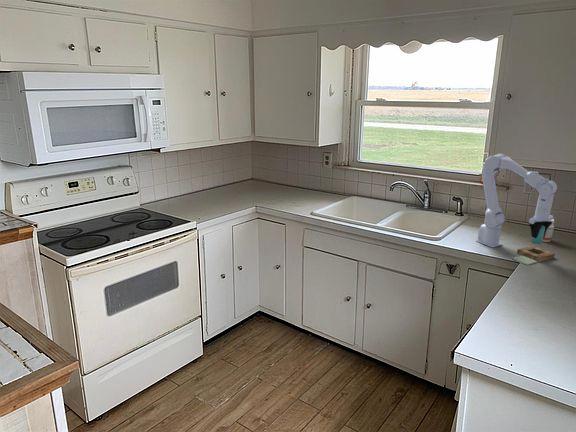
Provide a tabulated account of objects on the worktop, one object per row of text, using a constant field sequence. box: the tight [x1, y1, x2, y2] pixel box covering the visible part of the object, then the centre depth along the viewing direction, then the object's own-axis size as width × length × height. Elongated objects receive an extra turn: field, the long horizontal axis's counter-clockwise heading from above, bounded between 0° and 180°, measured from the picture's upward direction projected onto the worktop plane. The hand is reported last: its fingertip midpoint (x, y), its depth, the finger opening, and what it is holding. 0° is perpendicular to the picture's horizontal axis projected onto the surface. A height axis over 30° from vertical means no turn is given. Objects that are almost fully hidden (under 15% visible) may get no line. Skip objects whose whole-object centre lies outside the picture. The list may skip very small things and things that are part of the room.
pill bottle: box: [542, 218, 555, 243], centre depth 222 cm, size 6×6×11 cm
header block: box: [516, 245, 556, 263], centre depth 204 cm, size 11×11×2 cm
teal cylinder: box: [530, 226, 545, 245], centre depth 200 cm, size 4×4×8 cm
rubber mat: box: [512, 255, 538, 266], centre depth 198 cm, size 7×7×1 cm
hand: (537, 236), depth 200 cm, fingers closed on teal cylinder, 4 cm apart
